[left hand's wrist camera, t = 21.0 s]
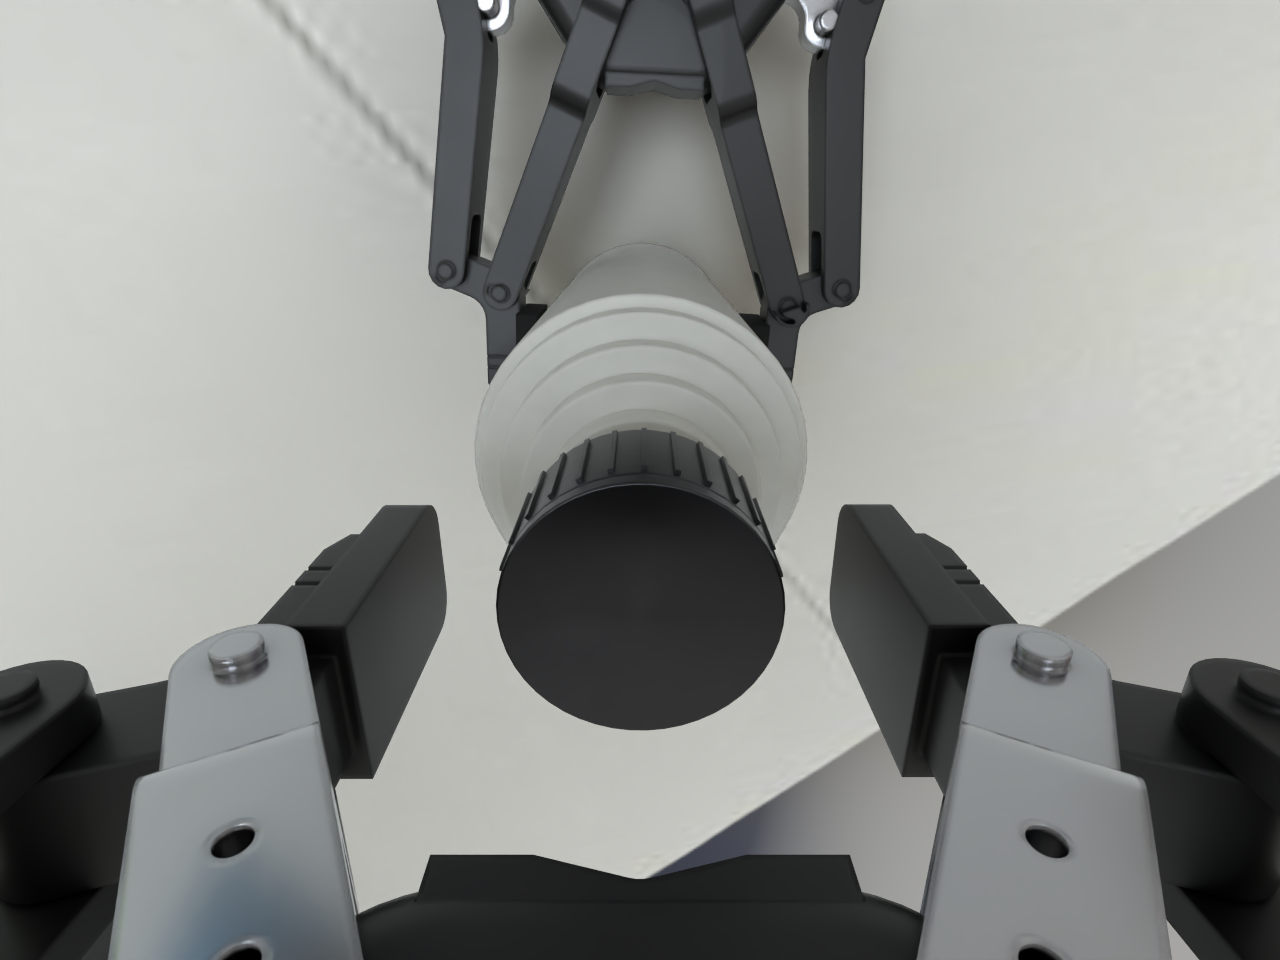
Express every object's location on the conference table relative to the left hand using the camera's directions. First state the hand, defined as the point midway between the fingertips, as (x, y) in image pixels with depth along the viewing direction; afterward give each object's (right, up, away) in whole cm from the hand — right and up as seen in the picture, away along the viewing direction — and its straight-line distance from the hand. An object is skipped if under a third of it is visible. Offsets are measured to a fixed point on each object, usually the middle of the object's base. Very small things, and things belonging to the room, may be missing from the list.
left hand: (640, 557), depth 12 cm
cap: (0, -1, -2) cm, 2 cm away
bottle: (0, +8, +20) cm, 22 cm away
